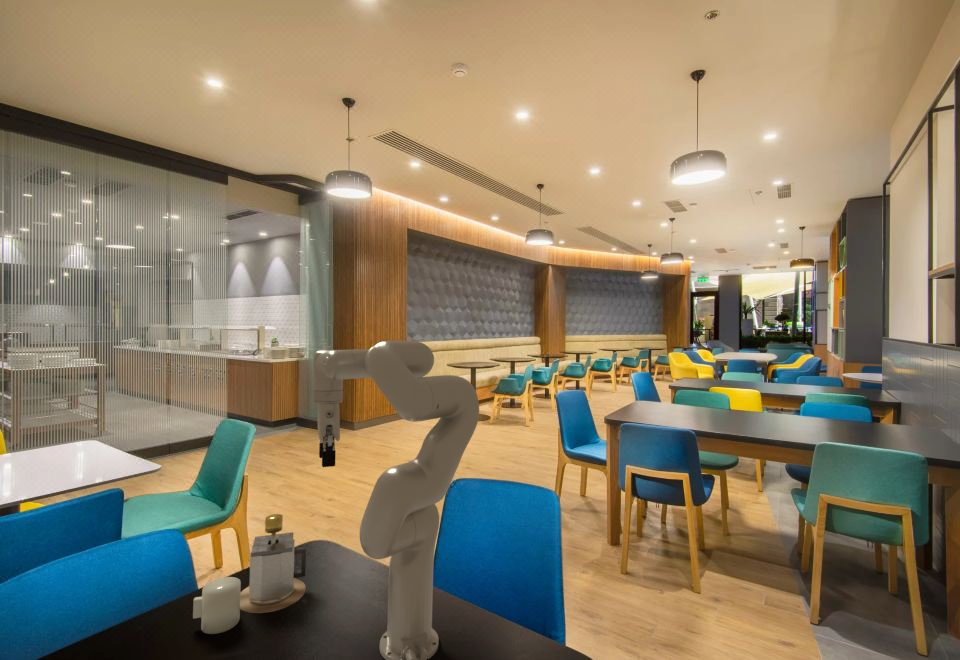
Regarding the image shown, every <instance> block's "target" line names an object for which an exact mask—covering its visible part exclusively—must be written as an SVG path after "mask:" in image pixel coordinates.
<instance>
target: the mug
mask: <svg viewBox="0 0 960 660" xmlns="http://www.w3.org/2000/svg"><path fill="white" fill-rule="evenodd" d="M241 582H242V581H241V579H240V578H238V577H236V576H235V577H234V576H226V577H220V578H216V579H214V580H211V581H209V582H207V583H206V584H205V585H204V586H203V588H202V590H201V591H202V593H201V596H196V597H194V598H193V602H192V603H193V607H192V610H193V611H192V619H199V618H200V619H201V622H200V623H201V624H200V630H201V631H202V633H204V634H207V635H214V634H215V635H216V634H220V633H225V632H227V631H230V630H231V629H233V628H234V627H236V625H238V623H239V622H240V619H241V617H240V615H241V613H240V612H241V609H240V593H241V589H242V587H241V586H242V585H241V584H242V583H241Z"/></svg>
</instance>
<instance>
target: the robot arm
mask: <svg viewBox="0 0 960 660" xmlns="http://www.w3.org/2000/svg"><path fill="white" fill-rule="evenodd" d="M434 364H435V356H434V353H433V351H432V349H431V348H430V347H429V346H428V345H426V343H423V342H421V341H415V340H384V341H383V340H382V341H380V342H378V343H376V344H375V345H373V346H372V347H370V348H369V349H321V350H317V351H315V353H314V354H313V372H312V373H313V376H312V377H313V379H312V404H317V415H316V416H317V418H316V419H317V420H316V421H317V436H318V439H319V447H318V448H319V450H318V451H319V452H318V454H319V455H318V457H319V458H320V459H321V466H322V468H328V467H329V468H330V467H335V466H336V446H335V445H336V444H335V443H336V442H339V441H340V440H341V434H340V433H341V430H340V429H341V427H340V426H341V425H340V423H341V422H340V418H341V417H340V404H339V403H342V402H344V401H343V399H344V380H353V379H372V380H373V382H374V383H375V385H376V386H377V387H378V389H379V390H380V391H381V393H382V394H383V395H384V397H385V398H386V400H387V402H388V403H389V404H390V406H391V407H392V408H393V410H394V411H395V412H396V413H397V415H398V416H399V417H400V418H402V419H404V420H405V421H408V422H411V423H414V422H415V423H417V422H423V421H429V420H434V419H435V420H436V419H438V421H437V422H436V424H435V425H434V426H433V427H431V429H430V430H429V432H428V433H427V434H426V435H425V438H424V440H423V441H422V443H421V448H420V449H419V452H418V454H417V455H416V457H415V458H414V459H412V460H410V461H408V462H405V463H401V464H397V465H394V466H391V467H390V468H388V469H386V470H384V471H383V472H382V473H381V475H380V476H379V477H378V478H377V480H376V481H375V484H374V486H373V489H372V491H371V494H370V497H369V499H368V502H367V505H366V508H365V510H364V513H363V516H362V519H361V522H360V527H359V543H360V546H361V548H362V550H363V552H364V553H365V555H366V556H367V557H369V558H371V559H374V560H383V559H387V558H389V557H390V560H389V565H388V596H387V628H386V629H387V630H386V631H385V632H384V633H383V634H382V636H381V637H380V640H379V652H380V655H381V656H382V657H383V659H384V660H427V659H428V660H430V659H431V658H432V657H433V656H434V655H435V654H436V653H437V652H438V648H439V644H440V643H439V639H440V637H439V635H438V633H437V631H436V630H435V629H434V627H433V600H434V599H433V592H434V588H433V587H434V567H435V565H434V563H435V562H434V560H435V559H434V558H435V549H436V542H437V538H438V534H439V533H438V532H439V528H440V513H439V510H438V507H437V505H436V504H437V503H439V502H441V501H442V500H443V499H444V497H445V496H446V495H447V493H448V491H449V488H450V486H451V484H452V481H453V479H454V476H455V475H456V474H455V473H456V472H457V469H458V467H459V465H460V463H461V459H462V458H463V455H464V453H465V450H466V449H467V446H468V444H469V442H470V441H471V439H472V437H473V435H474V433H475V430H476V428H477V425H478V423H479V418H480V417H479V416H480V404H479V403H480V402H479V397H478V393H477V390H476V389H475V387H474V385H473V384H472V383H471V382H470V381H469V380H468V379H466V378H464V377H463V376H458V375H450V374H448V375H446V374H445V375H443V374H442V375H433V376H426V375H428V374H429V373H430V372H431V370H432V369H433V367H434ZM335 440H336V442H335Z"/></svg>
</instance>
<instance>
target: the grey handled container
mask: <svg viewBox="0 0 960 660" xmlns="http://www.w3.org/2000/svg"><path fill="white" fill-rule="evenodd" d="M295 542H296V540H295V539H294V531H292V532H285V533H276V542H275V544H271V534H266V535H260V536H259V535H258V536H254V540H253V544H252V545H251V548H250V549H251V550H250V553H249V554H250V556H249V583H248V584H249V585H248V587H249V601H250V602H251V603H252V604H254V605H258V606H268V605H274V604H277V603H280V602H283V601H285V600H286V599H288V598H289V597H290V596H291V595H292V594H293V592H294V584H293V583H294V578H296V579H298V578H304V577H306V559H307V545H305V546H299V547H298V546H297V547H295V546H296V545H295ZM295 555H301V563H300V564H301V565H300V567H301V568H300V569H298V570H295Z"/></svg>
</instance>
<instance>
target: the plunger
mask: <svg viewBox="0 0 960 660" xmlns="http://www.w3.org/2000/svg"><path fill="white" fill-rule="evenodd" d="M283 519H284V518H283V514H280V513H274V514H270V515H267V516H266V517H265V520H264V532H265V533H267V534H270V535H271V544H275V542H276V534H277V533H279V532H281V531H282V530H283Z"/></svg>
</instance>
